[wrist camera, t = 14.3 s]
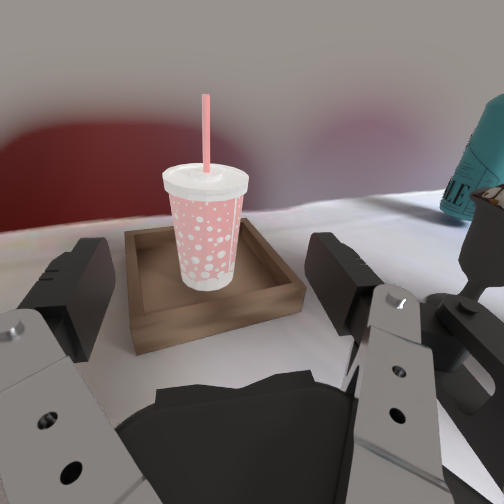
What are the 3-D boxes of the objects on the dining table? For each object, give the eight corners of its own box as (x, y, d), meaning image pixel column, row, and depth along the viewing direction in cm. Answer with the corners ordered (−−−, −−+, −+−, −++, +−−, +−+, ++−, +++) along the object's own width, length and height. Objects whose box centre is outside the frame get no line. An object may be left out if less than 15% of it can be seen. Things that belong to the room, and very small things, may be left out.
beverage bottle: (491, 227, 40) (593, 62, 29) (468, 235, 37) (571, 55, 26) (447, 210, 45) (521, 62, 34) (423, 216, 42) (495, 56, 31)
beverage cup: (207, 248, 28) (206, 90, 20) (255, 273, 25) (274, 100, 18) (157, 275, 24) (132, 88, 16) (207, 308, 21) (204, 100, 13)
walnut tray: (245, 237, 32) (246, 217, 31) (300, 311, 22) (306, 287, 21) (128, 254, 28) (124, 231, 26) (136, 355, 18) (130, 328, 17)
